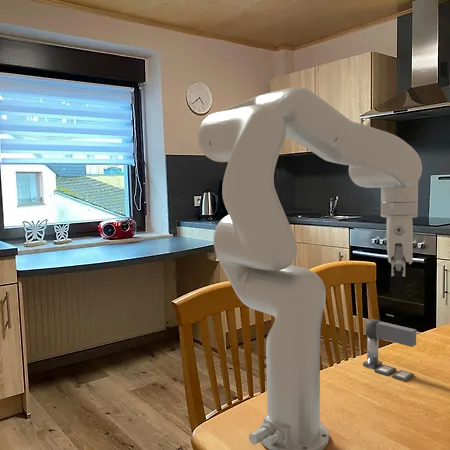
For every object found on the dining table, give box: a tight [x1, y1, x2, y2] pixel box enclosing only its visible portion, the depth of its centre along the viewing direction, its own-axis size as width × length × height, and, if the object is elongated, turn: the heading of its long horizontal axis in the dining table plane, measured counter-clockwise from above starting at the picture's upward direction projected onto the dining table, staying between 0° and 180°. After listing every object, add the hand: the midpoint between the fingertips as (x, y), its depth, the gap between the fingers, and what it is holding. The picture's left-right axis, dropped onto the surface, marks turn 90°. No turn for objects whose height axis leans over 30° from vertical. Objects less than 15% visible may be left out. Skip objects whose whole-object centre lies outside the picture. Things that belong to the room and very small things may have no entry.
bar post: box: [362, 336, 383, 370], centre depth 116 cm, size 4×3×7 cm
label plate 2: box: [391, 369, 415, 382], centre depth 110 cm, size 4×3×1 cm
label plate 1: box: [374, 364, 397, 377], centre depth 113 cm, size 4×3×1 cm
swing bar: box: [365, 318, 417, 348], centre depth 112 cm, size 3×12×4 cm, turn 42°
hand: (397, 289), depth 103 cm, fingers open, 6 cm apart
